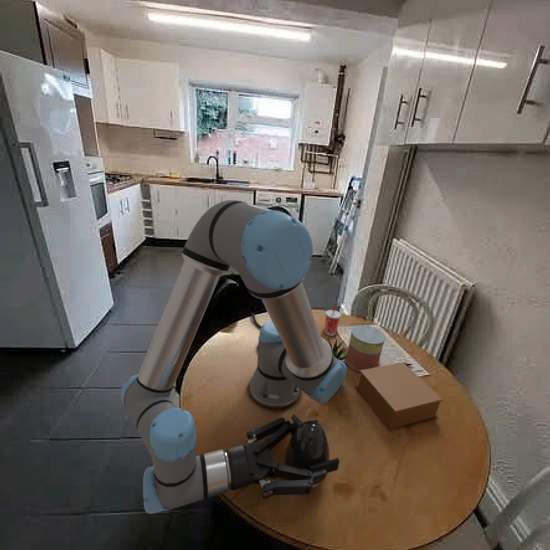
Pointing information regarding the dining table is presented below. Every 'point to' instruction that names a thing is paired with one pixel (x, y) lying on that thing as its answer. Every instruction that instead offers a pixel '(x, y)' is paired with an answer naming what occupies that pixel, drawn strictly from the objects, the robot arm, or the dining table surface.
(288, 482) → the robot arm
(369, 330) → the canned food
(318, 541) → the dining table surface
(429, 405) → the takeaway box
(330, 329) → the beverage cup
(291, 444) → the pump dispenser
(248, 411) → the dining table surface
